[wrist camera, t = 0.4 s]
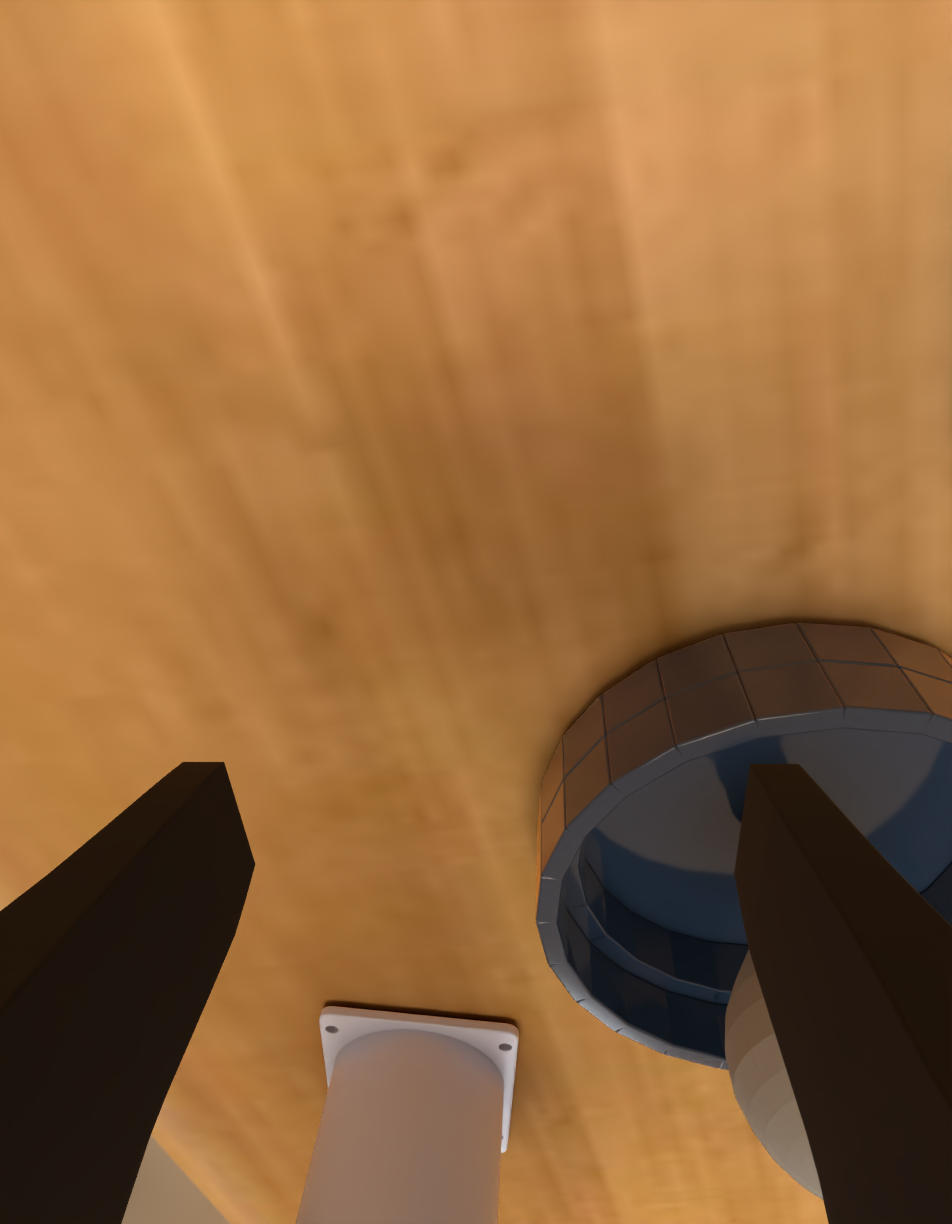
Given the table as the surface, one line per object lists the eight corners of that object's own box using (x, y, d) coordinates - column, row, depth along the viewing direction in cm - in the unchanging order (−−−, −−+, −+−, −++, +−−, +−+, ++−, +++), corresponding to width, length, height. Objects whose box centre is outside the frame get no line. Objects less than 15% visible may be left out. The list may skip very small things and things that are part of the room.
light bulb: (675, 760, 22) (757, 1133, 13) (872, 745, 21) (1095, 1134, 13) (683, 886, 25) (755, 1265, 16) (857, 877, 24) (1034, 1274, 15)
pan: (926, 976, 26) (983, 1096, 23) (525, 939, 27) (521, 1049, 24) (1110, 636, 19) (1234, 736, 16) (558, 599, 20) (560, 686, 17)
